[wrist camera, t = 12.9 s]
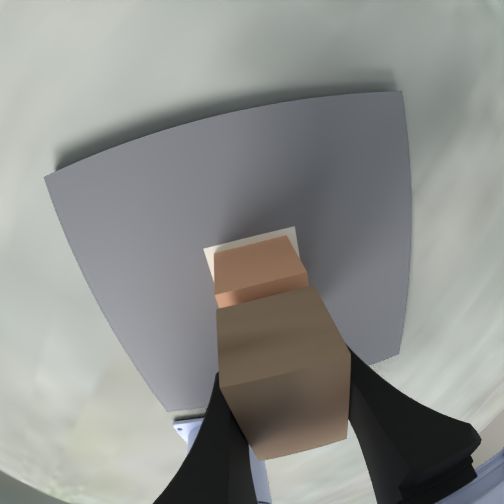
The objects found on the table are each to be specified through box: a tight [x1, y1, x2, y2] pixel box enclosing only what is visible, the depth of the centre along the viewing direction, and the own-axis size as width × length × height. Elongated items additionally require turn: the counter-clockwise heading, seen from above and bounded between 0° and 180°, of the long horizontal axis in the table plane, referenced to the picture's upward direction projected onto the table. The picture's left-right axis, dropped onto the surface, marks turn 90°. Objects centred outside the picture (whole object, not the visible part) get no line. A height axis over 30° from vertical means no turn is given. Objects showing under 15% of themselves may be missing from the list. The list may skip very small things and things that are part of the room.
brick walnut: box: [216, 285, 351, 461], centre depth 11 cm, size 6×4×4 cm, turn 12°
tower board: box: [44, 91, 411, 412], centre depth 18 cm, size 20×20×1 cm
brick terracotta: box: [214, 235, 309, 308], centre depth 16 cm, size 6×4×4 cm, turn 12°
